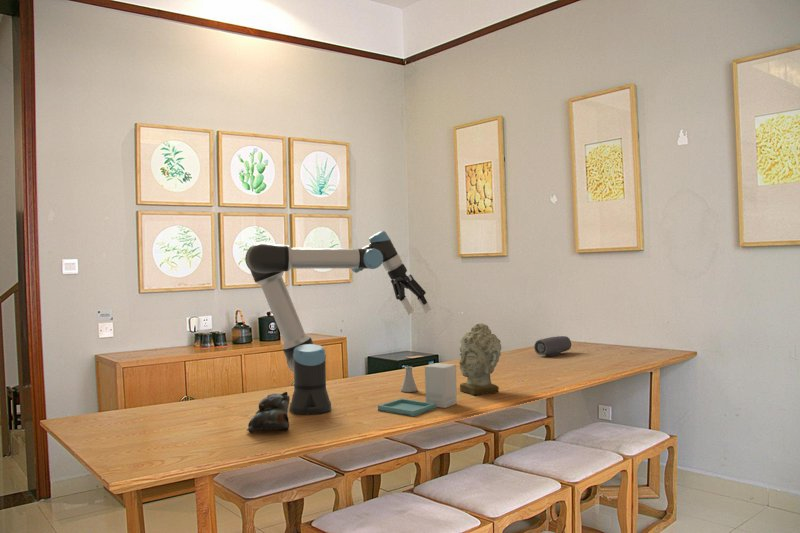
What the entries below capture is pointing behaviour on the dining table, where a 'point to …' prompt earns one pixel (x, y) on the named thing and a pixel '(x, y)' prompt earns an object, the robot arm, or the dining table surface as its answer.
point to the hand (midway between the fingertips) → (419, 311)
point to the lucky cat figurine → (271, 413)
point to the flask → (409, 381)
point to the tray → (407, 407)
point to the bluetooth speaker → (552, 345)
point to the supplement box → (441, 384)
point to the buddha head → (479, 360)
